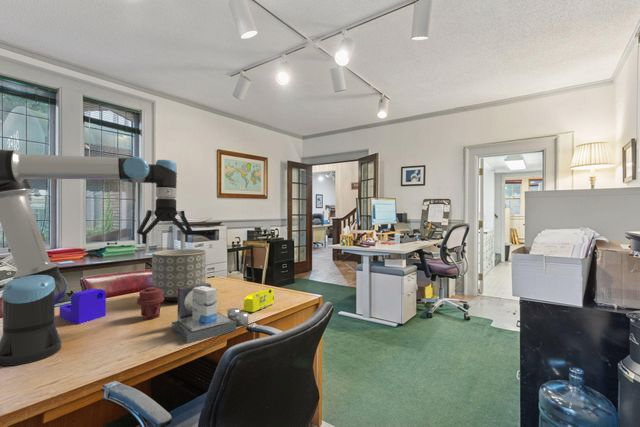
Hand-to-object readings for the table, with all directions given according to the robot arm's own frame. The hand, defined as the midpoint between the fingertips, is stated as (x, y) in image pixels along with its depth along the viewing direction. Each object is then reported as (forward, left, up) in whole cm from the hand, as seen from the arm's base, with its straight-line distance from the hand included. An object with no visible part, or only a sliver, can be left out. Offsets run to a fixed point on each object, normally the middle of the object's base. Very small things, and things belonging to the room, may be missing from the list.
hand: (165, 250), depth 126 cm
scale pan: (+8, -21, -25) cm, 34 cm away
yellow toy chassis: (+38, -10, -29) cm, 49 cm away
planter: (+16, +32, -29) cm, 46 cm away
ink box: (+8, -21, -25) cm, 33 cm away
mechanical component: (-3, +9, -29) cm, 30 cm away
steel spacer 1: (+22, -16, -29) cm, 39 cm away
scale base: (+8, -19, -29) cm, 35 cm away
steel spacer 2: (+22, -23, -29) cm, 43 cm away
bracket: (-26, +29, -29) cm, 48 cm away
